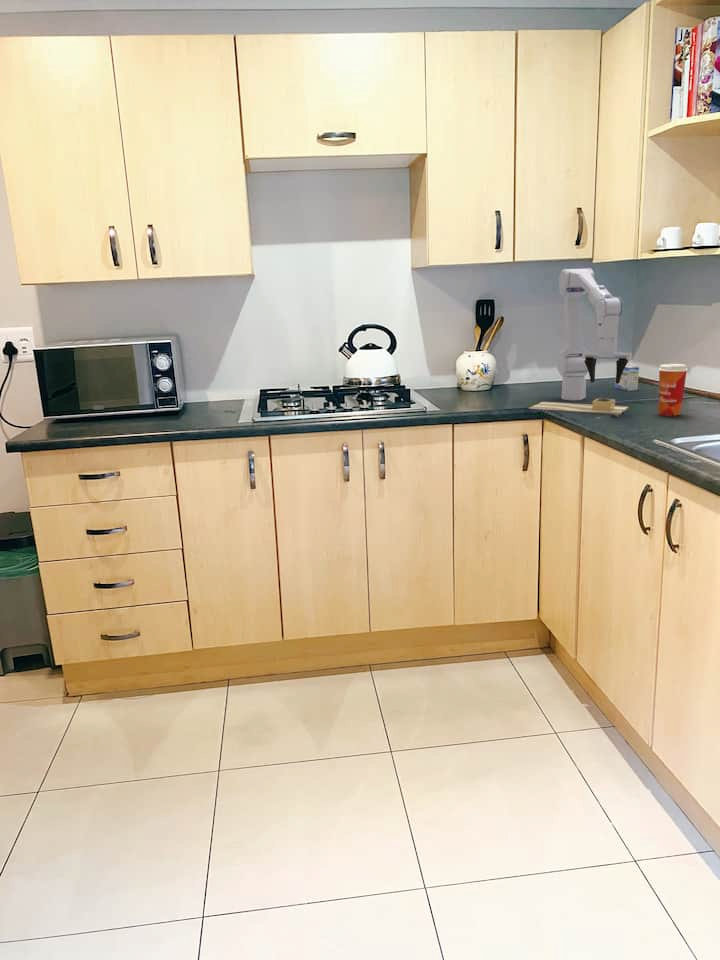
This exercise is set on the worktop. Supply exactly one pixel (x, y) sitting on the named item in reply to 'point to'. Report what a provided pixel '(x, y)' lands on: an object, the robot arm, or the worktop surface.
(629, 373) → the medicine box
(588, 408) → the keeper board
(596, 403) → the brass link
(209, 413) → the worktop surface
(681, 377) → the coffee cup
